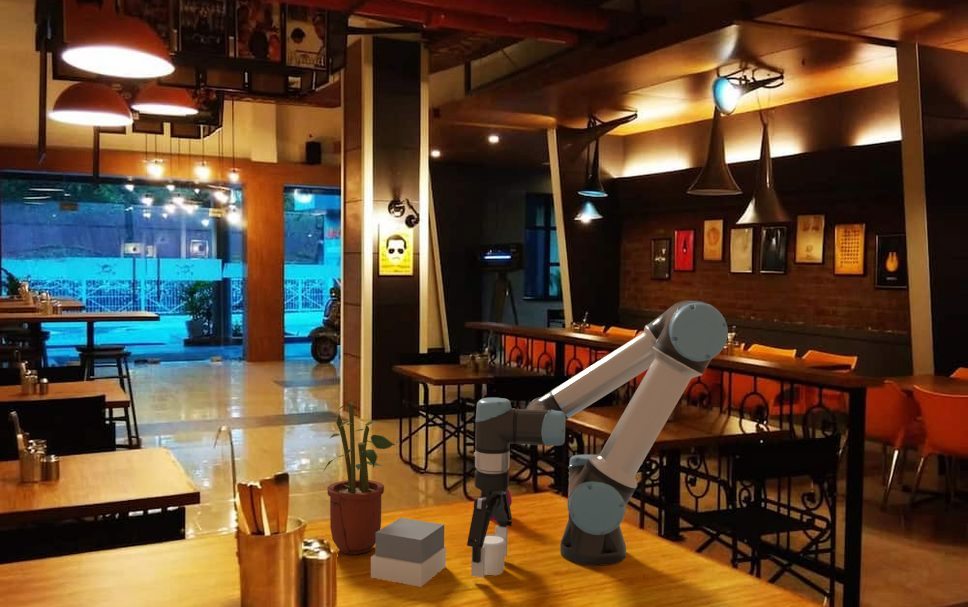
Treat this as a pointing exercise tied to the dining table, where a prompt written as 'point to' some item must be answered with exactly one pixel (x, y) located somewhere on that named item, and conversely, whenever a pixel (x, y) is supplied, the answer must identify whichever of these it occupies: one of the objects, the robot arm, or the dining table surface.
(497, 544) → the white cup
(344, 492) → the potted plant
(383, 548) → the tower top
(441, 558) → the tower base
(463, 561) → the dining table surface
